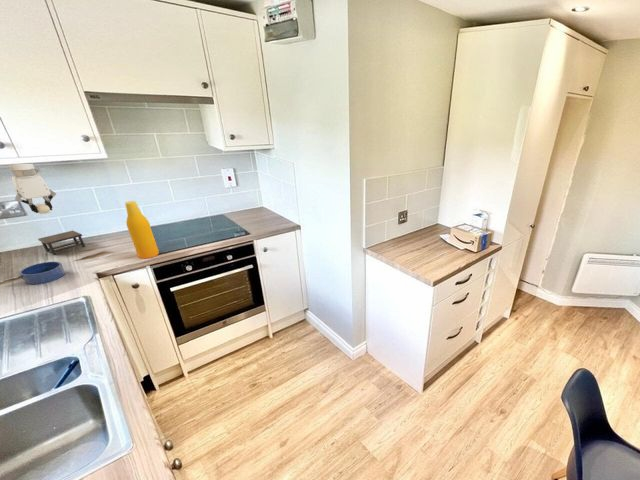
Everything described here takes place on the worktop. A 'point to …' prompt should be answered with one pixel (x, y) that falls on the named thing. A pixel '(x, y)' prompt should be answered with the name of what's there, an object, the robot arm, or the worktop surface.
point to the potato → (42, 208)
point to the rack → (61, 237)
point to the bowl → (42, 272)
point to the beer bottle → (140, 232)
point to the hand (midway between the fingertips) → (43, 210)
